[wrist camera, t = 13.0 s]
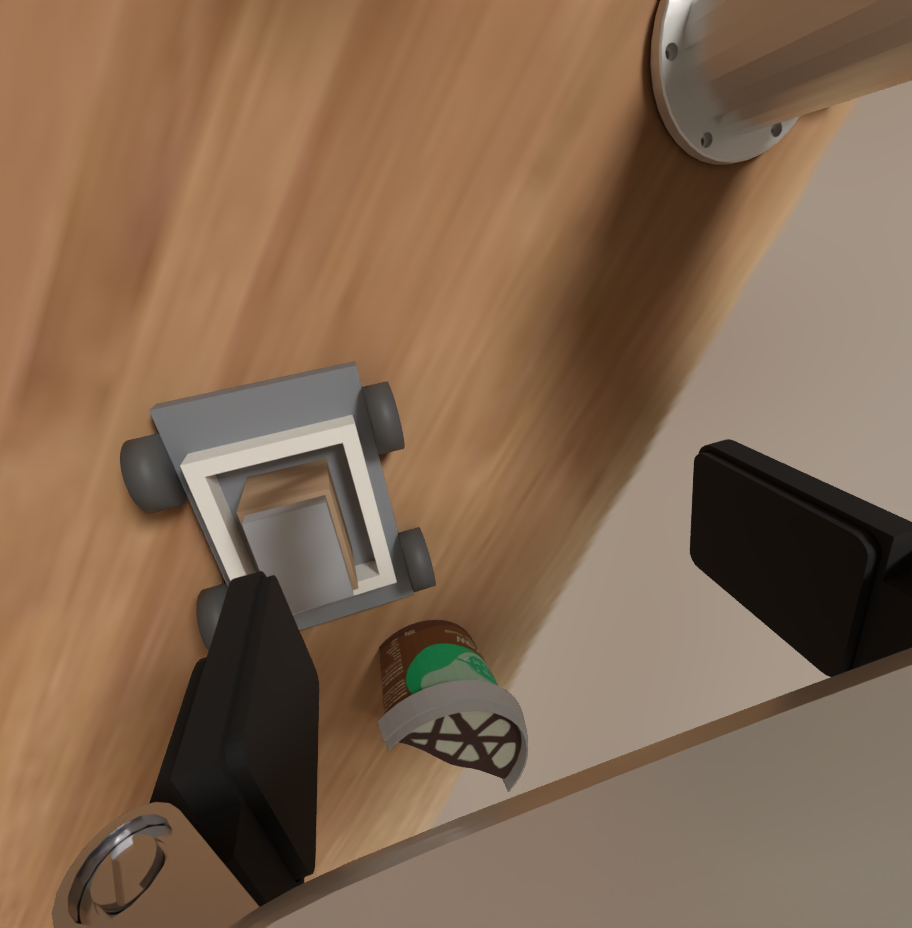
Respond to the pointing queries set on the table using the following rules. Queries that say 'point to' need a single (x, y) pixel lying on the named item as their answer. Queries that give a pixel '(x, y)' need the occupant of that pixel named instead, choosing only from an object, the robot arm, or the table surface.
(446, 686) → the food container
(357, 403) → the chassis
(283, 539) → the grey block on wood
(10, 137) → the table surface
